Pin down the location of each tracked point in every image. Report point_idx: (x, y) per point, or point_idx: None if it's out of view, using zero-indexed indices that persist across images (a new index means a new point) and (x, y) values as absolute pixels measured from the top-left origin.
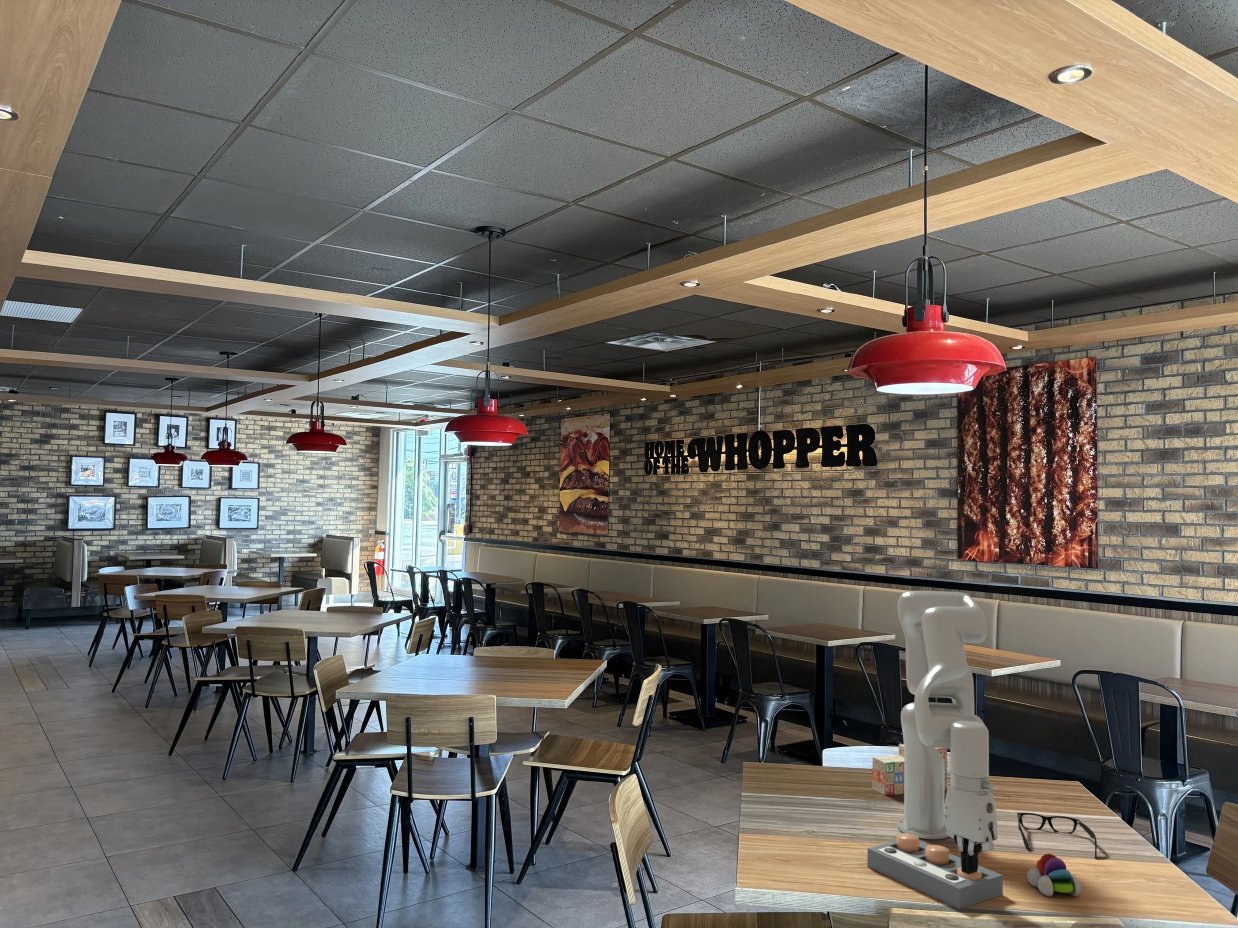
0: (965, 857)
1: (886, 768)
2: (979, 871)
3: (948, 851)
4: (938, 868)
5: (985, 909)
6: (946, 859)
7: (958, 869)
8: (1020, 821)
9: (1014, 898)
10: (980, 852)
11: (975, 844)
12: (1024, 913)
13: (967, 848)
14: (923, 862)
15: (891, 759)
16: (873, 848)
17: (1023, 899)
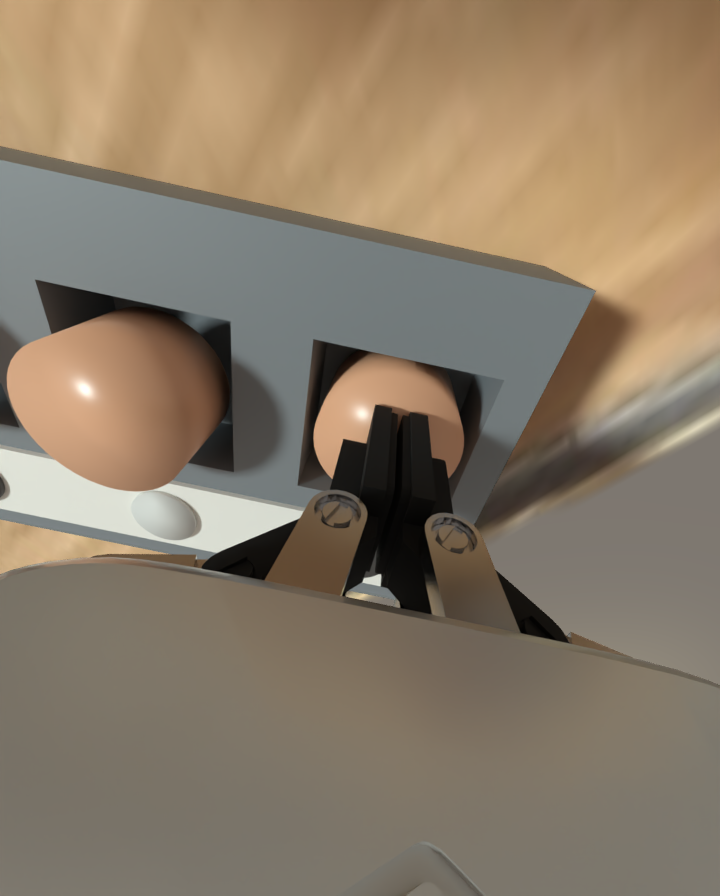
0: (377, 556)
1: None
2: (436, 399)
3: (170, 407)
4: (252, 505)
5: (507, 488)
6: (207, 417)
7: (328, 461)
8: None
9: (619, 263)
10: (474, 526)
11: (431, 589)
12: (680, 413)
13: (363, 565)
14: (166, 503)
15: None
16: None
17: (680, 228)
